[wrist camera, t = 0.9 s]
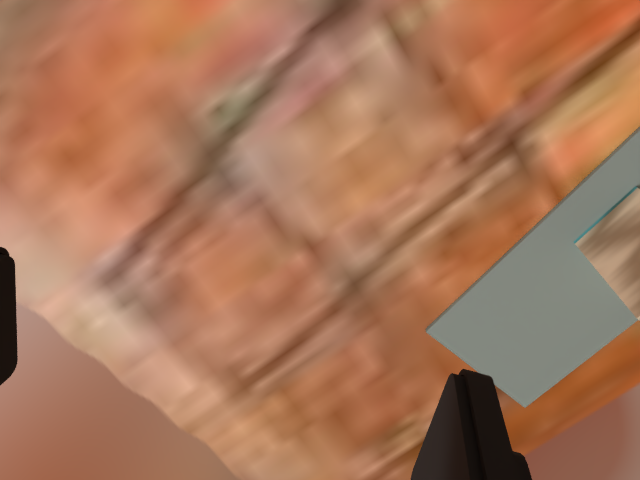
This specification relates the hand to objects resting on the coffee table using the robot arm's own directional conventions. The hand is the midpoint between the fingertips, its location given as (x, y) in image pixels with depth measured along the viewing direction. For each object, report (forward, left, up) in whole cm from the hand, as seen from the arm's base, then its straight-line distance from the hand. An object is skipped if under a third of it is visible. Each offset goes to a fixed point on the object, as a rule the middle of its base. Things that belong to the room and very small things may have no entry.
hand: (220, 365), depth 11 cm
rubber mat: (-3, +23, -33) cm, 40 cm away
